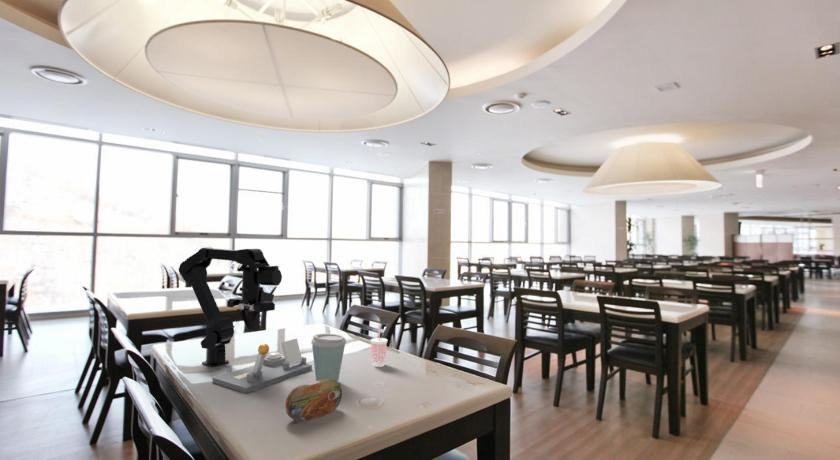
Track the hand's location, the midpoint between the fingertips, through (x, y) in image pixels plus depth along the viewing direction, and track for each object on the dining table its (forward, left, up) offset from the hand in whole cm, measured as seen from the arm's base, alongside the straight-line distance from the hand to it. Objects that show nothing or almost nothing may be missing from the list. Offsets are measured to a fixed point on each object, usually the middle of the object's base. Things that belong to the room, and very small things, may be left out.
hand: (250, 329), depth 141 cm
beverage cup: (+36, +27, -13) cm, 47 cm away
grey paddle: (+16, +6, -11) cm, 20 cm away
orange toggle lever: (+16, -10, -11) cm, 22 cm away
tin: (+47, -16, -13) cm, 51 cm away
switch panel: (+12, -3, -13) cm, 18 cm away
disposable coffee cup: (+34, +3, -13) cm, 37 cm away
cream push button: (+8, +4, -10) cm, 14 cm away
